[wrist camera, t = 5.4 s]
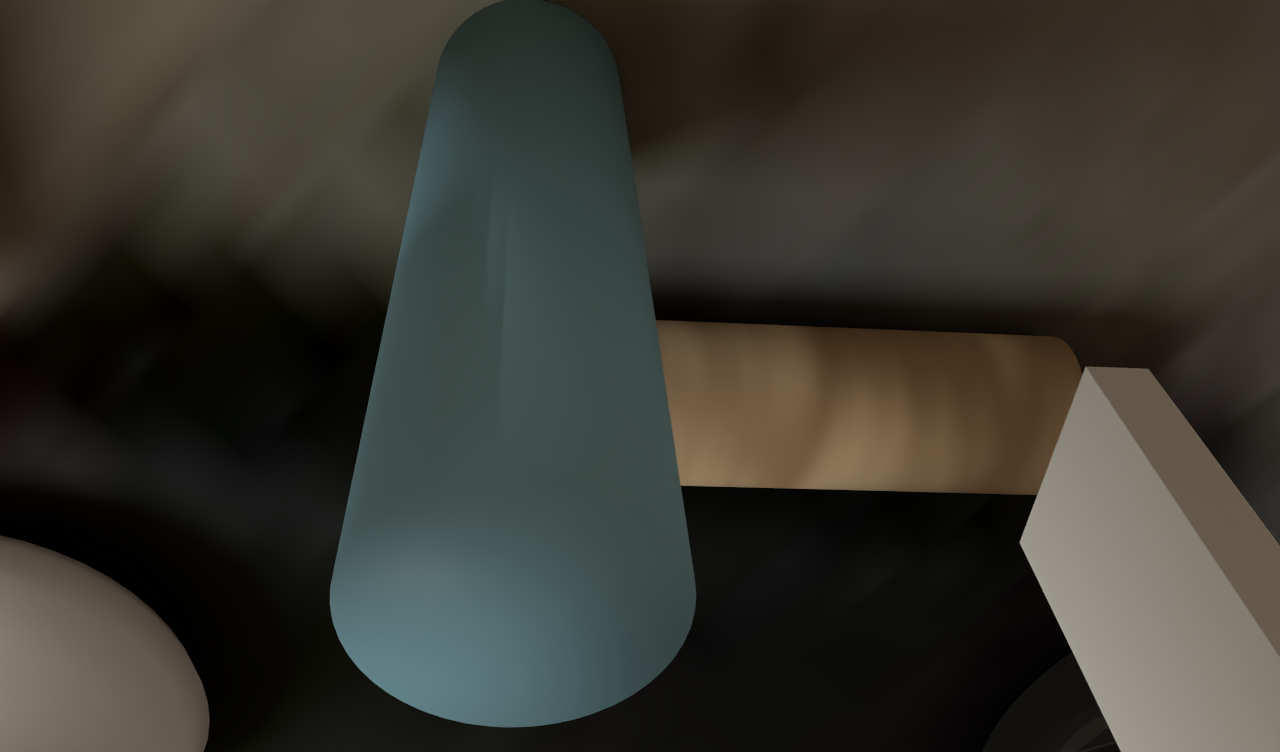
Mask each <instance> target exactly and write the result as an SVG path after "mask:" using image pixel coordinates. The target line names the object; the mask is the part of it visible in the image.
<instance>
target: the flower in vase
mask: <svg viewBox="0 0 1280 752" xmlns="http://www.w3.org/2000/svg"><path fill="white" fill-rule="evenodd" d="M209 722H210V720H209V710H208V701H207V698H206V694H205V691H204V688H203V684H202V682H201V680H200V678H199V676H198V674H197V672H196V670H195V668H194V666H193V664H192V662H191V660H190V658H189V656H188V654H187V652H186V650H185V648H184V646H183V645H182V644H181V642H180V641H179V639H178V638H177V637H176V635H175V634H174V633H173V631H172V630H171V628H170V627H169V626H168V625H167V624H166V623H165V622H164V621H163V620H162V619H161V618H160V617H159V616H158V615H157V614H156V613H155V611H154V610H152V609H151V608H150V607H149V606H148V605H146V604H145V603H144V602H143V601H142V600H141V599H139V598H138V597H137V596H136V595H135V594H133V593H132V592H131V591H129V590H128V589H126V588H125V587H123V586H122V585H120V584H119V583H117V582H116V581H114V580H113V579H111V578H110V577H108V576H106V575H104V574H102V573H101V572H99V571H97V570H95V569H93V568H91V567H89V566H87V565H86V564H84V563H81V562H79V561H77V560H74V559H72V558H70V557H67V556H65V555H62V554H60V553H58V552H55V551H53V550H50V549H47V548H44V547H40V546H37V545H34V544H31V543H28V542H25V541H22V540H18V539H13V538H9V537H5V536H1V535H0V752H204V749H205V746H206V743H207V740H208V732H209Z"/></svg>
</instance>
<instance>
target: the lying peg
mask: <svg viewBox="0 0 1280 752" xmlns="http://www.w3.org/2000/svg"><path fill="white" fill-rule="evenodd" d="M656 325H657V332H658V339H659V345H660V352H661V359H662V365H663V372H664V379H665V385H666V392H667V398H668V405H669V412H670V418H671V425H672V432H673V438H674V445H675V452H676V458H677V465H678V472H679V478H680V485H682V486H720V487H758V488H796V489H835V490H873V491H911V492H949V493H987V494H1026V495H1038V492H1039V490H1040V487H1041V484H1042V482H1043V479H1044V476H1045V474H1046V471H1047V468H1048V466H1049V463H1050V460H1051V458H1052V455H1053V452H1054V450H1055V447H1056V444H1057V442H1058V439H1059V436H1060V434H1061V431H1062V428H1063V426H1064V423H1065V420H1066V418H1067V415H1068V412H1069V410H1070V407H1071V404H1072V402H1073V399H1074V396H1075V394H1076V391H1077V388H1078V386H1079V383H1080V380H1081V378H1082V372H1081V369H1080V366H1079V363H1078V361H1077V358H1076V356H1075V354H1074V353H1073V351H1072V349H1071V348H1070V347H1069V345H1068V344H1067V343H1066V342H1065V341H1063V340H1062V339H1060V338H1058V337H1054V336H1030V335H1006V334H982V333H957V332H933V331H909V330H885V329H861V328H837V327H813V326H789V325H765V324H741V323H717V322H692V321H668V320H656Z"/></svg>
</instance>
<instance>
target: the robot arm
mask: <svg viewBox="0 0 1280 752" xmlns="http://www.w3.org/2000/svg"><path fill="white" fill-rule="evenodd" d="M1020 544H1021V546H1022V548H1023V550H1024V552H1025V555H1026V557H1027V559H1028V561H1029V563H1030V565H1031V567H1032V569H1033V571H1034V573H1035V575H1036V577H1037V579H1038V581H1039V583H1040V586H1041V588H1042V590H1043V592H1044V594H1045V596H1046V598H1047V600H1048V602H1049V604H1050V606H1051V608H1052V610H1053V612H1054V614H1055V617H1056V619H1057V621H1058V623H1059V625H1060V627H1061V629H1062V631H1063V633H1064V635H1065V637H1066V639H1067V641H1068V643H1069V645H1070V648H1071V650H1072V653H1070V654H1069V655H1067V656H1066V657H1064V658H1063V659H1061V660H1060V661H1059V662H1058V663H1056V664H1055V665H1054V666H1052V667H1051V668H1050V669H1048V670H1047V671H1046V672H1045V673H1044V674H1043V675H1041V676H1040V677H1039V678H1038V679H1037V680H1036V681H1034V682H1033V683H1032V684H1031V685H1030V686H1029V687H1028V688H1027V689H1026V690H1025V691H1024V692H1023V693H1022V694H1021V695H1020V696H1019V697H1018V698H1017V700H1016V701H1015V702H1014V703H1013V704H1012V705H1011V706H1010V708H1009V709H1008V710H1007V711H1006V713H1005V714H1004V715H1003V716H1002V718H1001V719H1000V721H999V722H998V724H997V725H996V727H995V728H994V730H993V731H992V733H991V735H990V737H989V738H988V740H987V742H986V744H985V746H984V748H983V751H982V752H1280V546H1279V544H1278V543H1277V542H1276V540H1275V539H1274V537H1273V536H1272V535H1271V533H1270V532H1269V531H1268V529H1267V528H1266V527H1265V525H1264V524H1263V523H1262V521H1261V520H1260V519H1259V517H1258V516H1257V515H1256V513H1255V512H1254V510H1253V509H1252V508H1251V506H1250V505H1249V504H1248V502H1247V501H1246V500H1245V498H1244V497H1243V496H1242V494H1241V493H1240V492H1239V490H1238V489H1237V488H1236V486H1235V485H1234V484H1233V482H1232V481H1231V479H1230V478H1229V477H1228V475H1227V474H1226V473H1225V471H1224V470H1223V469H1222V467H1221V466H1220V465H1219V463H1218V462H1217V461H1216V459H1215V458H1214V457H1213V455H1212V454H1211V453H1210V451H1209V450H1208V448H1207V447H1206V446H1205V444H1204V443H1203V442H1202V440H1201V439H1200V438H1199V436H1198V435H1197V434H1196V432H1195V431H1194V430H1193V428H1192V427H1191V426H1190V424H1189V423H1188V422H1187V420H1186V419H1185V417H1184V416H1183V415H1182V413H1181V412H1180V411H1179V409H1178V408H1177V407H1176V405H1175V404H1174V403H1173V401H1172V400H1171V399H1170V397H1169V396H1168V395H1167V393H1166V392H1165V390H1164V389H1163V388H1162V386H1161V385H1160V384H1159V382H1158V381H1157V380H1156V378H1155V377H1154V376H1153V374H1152V373H1151V372H1150V370H1149V369H1139V368H1112V367H1085V370H1084V372H1083V375H1082V378H1081V380H1080V383H1079V386H1078V388H1077V391H1076V394H1075V396H1074V399H1073V402H1072V404H1071V407H1070V410H1069V412H1068V415H1067V418H1066V420H1065V423H1064V426H1063V428H1062V431H1061V434H1060V436H1059V439H1058V442H1057V444H1056V447H1055V450H1054V452H1053V455H1052V458H1051V460H1050V463H1049V466H1048V468H1047V471H1046V474H1045V476H1044V479H1043V482H1042V484H1041V487H1040V490H1039V492H1038V495H1037V498H1036V500H1035V503H1034V506H1033V508H1032V511H1031V514H1030V516H1029V519H1028V522H1027V524H1026V527H1025V530H1024V532H1023V535H1022V538H1021V540H1020Z"/></svg>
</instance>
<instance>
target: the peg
mask: <svg viewBox="0 0 1280 752" xmlns="http://www.w3.org/2000/svg"><path fill="white" fill-rule="evenodd" d="M695 604H696V587H695V578H694V571H693V565H692V558H691V551H690V545H689V538H688V531H687V525H686V518H685V511H684V505H683V498H682V491H681V485H680V478H679V472H678V465H677V458H676V452H675V445H674V438H673V432H672V425H671V418H670V412H669V405H668V398H667V392H666V385H665V379H664V372H663V365H662V359H661V352H660V345H659V339H658V332H657V325H656V319H655V312H654V305H653V299H652V292H651V286H650V279H649V272H648V266H647V259H646V252H645V246H644V239H643V232H642V226H641V219H640V212H639V206H638V199H637V193H636V186H635V179H634V173H633V166H632V159H631V153H630V146H629V139H628V133H627V126H626V119H625V113H624V106H623V100H622V93H621V86H620V80H619V73H618V69H617V65H616V62H615V59H614V57H613V54H612V52H611V50H610V48H609V46H608V45H607V43H606V41H605V40H604V38H603V37H602V36H601V35H600V33H599V32H598V31H597V30H596V29H595V28H594V27H593V26H592V25H591V24H590V23H589V22H588V21H587V20H585V19H584V18H583V17H582V16H580V15H579V14H577V13H575V12H574V11H572V10H570V9H568V8H566V7H564V6H561V5H559V4H556V3H552V2H549V1H545V0H506V1H503V2H499V3H495V4H493V5H490V6H488V7H486V8H483V9H482V10H480V11H478V12H477V13H475V14H473V15H472V16H471V17H469V18H468V19H467V20H466V21H464V22H463V23H462V24H461V25H460V26H459V28H458V29H457V30H456V31H455V32H454V33H453V35H452V36H451V38H450V39H449V41H448V42H447V44H446V46H445V48H444V50H443V53H442V55H441V58H440V61H439V65H438V70H437V75H436V80H435V85H434V90H433V94H432V99H431V104H430V109H429V114H428V118H427V123H426V128H425V133H424V138H423V143H422V147H421V152H420V157H419V162H418V167H417V171H416V176H415V181H414V186H413V191H412V196H411V200H410V205H409V210H408V215H407V220H406V224H405V229H404V234H403V239H402V244H401V249H400V253H399V258H398V263H397V268H396V273H395V277H394V282H393V287H392V292H391V297H390V302H389V306H388V311H387V316H386V321H385V326H384V330H383V335H382V340H381V345H380V350H379V355H378V359H377V364H376V369H375V374H374V379H373V383H372V388H371V393H370V398H369V403H368V408H367V412H366V417H365V422H364V427H363V432H362V436H361V441H360V446H359V451H358V456H357V461H356V465H355V470H354V475H353V480H352V485H351V489H350V494H349V499H348V504H347V509H346V514H345V518H344V523H343V528H342V533H341V538H340V542H339V547H338V552H337V557H336V562H335V567H334V571H333V576H332V581H331V586H330V609H331V615H332V620H333V624H334V627H335V630H336V632H337V635H338V638H339V640H340V642H341V643H342V645H343V647H344V649H345V650H346V652H347V654H348V655H349V657H350V658H351V659H352V660H353V662H354V663H355V664H356V665H357V667H358V668H359V669H360V670H361V671H362V672H363V673H364V674H365V675H366V676H367V677H368V678H369V679H370V680H371V681H373V682H374V683H375V684H376V685H378V686H379V687H381V688H382V689H383V690H385V691H386V692H387V693H389V694H390V695H392V696H394V697H396V698H397V699H399V700H401V701H403V702H404V703H406V704H408V705H411V706H413V707H415V708H417V709H420V710H422V711H424V712H427V713H430V714H433V715H436V716H439V717H442V718H445V719H450V720H454V721H459V722H463V723H468V724H475V725H483V726H494V727H530V726H539V725H547V724H555V723H559V722H564V721H569V720H573V719H577V718H580V717H583V716H587V715H590V714H593V713H596V712H598V711H601V710H603V709H606V708H608V707H610V706H613V705H615V704H617V703H619V702H620V701H622V700H624V699H626V698H628V697H630V696H631V695H633V694H634V693H636V692H637V691H639V690H640V689H642V688H643V687H645V686H646V685H647V684H649V683H650V682H651V681H652V680H653V679H654V678H655V677H657V676H658V675H659V674H660V673H661V672H662V671H663V670H664V669H665V668H666V667H667V665H668V664H669V663H670V662H671V661H672V660H673V659H674V657H675V656H676V654H677V653H678V651H679V650H680V648H681V646H682V645H683V643H684V641H685V639H686V637H687V635H688V632H689V630H690V628H691V624H692V621H693V617H694V613H695Z"/></svg>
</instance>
